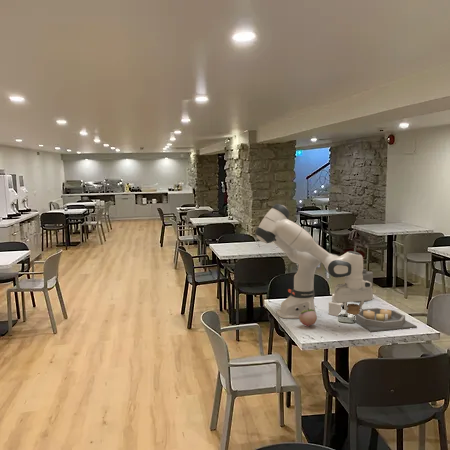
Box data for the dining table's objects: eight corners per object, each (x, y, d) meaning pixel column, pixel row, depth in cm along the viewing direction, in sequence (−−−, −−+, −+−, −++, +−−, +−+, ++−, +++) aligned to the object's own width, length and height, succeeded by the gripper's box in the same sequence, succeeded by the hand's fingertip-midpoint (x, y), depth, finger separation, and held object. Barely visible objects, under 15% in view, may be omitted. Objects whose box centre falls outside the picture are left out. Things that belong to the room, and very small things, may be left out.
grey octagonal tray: (370, 332, 226) (370, 320, 226) (346, 316, 251) (346, 306, 251) (416, 328, 232) (417, 316, 231) (388, 313, 257) (388, 302, 256)
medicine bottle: (335, 311, 261) (335, 291, 259) (346, 314, 256) (346, 293, 254) (328, 314, 256) (328, 293, 254) (339, 317, 251) (339, 296, 249)
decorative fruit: (308, 330, 229) (308, 311, 228) (296, 326, 236) (296, 308, 235) (320, 327, 235) (320, 308, 234) (309, 323, 241) (309, 304, 240)
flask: (357, 303, 277) (358, 271, 275) (350, 301, 282) (351, 269, 280) (375, 299, 284) (375, 268, 282) (368, 297, 289) (368, 267, 287)
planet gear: (350, 315, 226) (350, 307, 226) (344, 311, 232) (344, 304, 232) (361, 314, 228) (361, 306, 227) (355, 310, 234) (355, 303, 233)
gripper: (337, 285, 223) (337, 313, 224) (374, 283, 228) (374, 309, 229) (332, 282, 229) (331, 309, 231) (368, 280, 234) (367, 306, 235)
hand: (353, 309), depth 230 cm, fingers closed on planet gear, 6 cm apart
